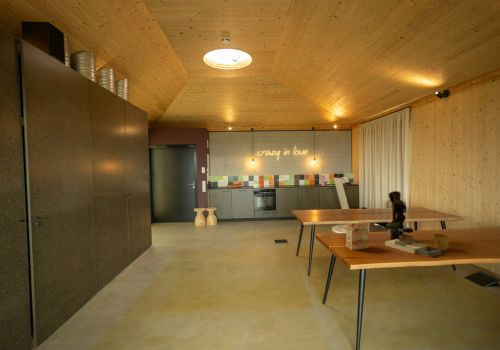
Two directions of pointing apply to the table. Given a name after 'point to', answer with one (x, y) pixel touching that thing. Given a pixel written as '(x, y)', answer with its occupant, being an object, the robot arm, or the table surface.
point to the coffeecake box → (357, 235)
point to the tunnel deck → (414, 247)
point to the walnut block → (405, 239)
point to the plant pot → (441, 241)
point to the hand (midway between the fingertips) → (398, 239)
